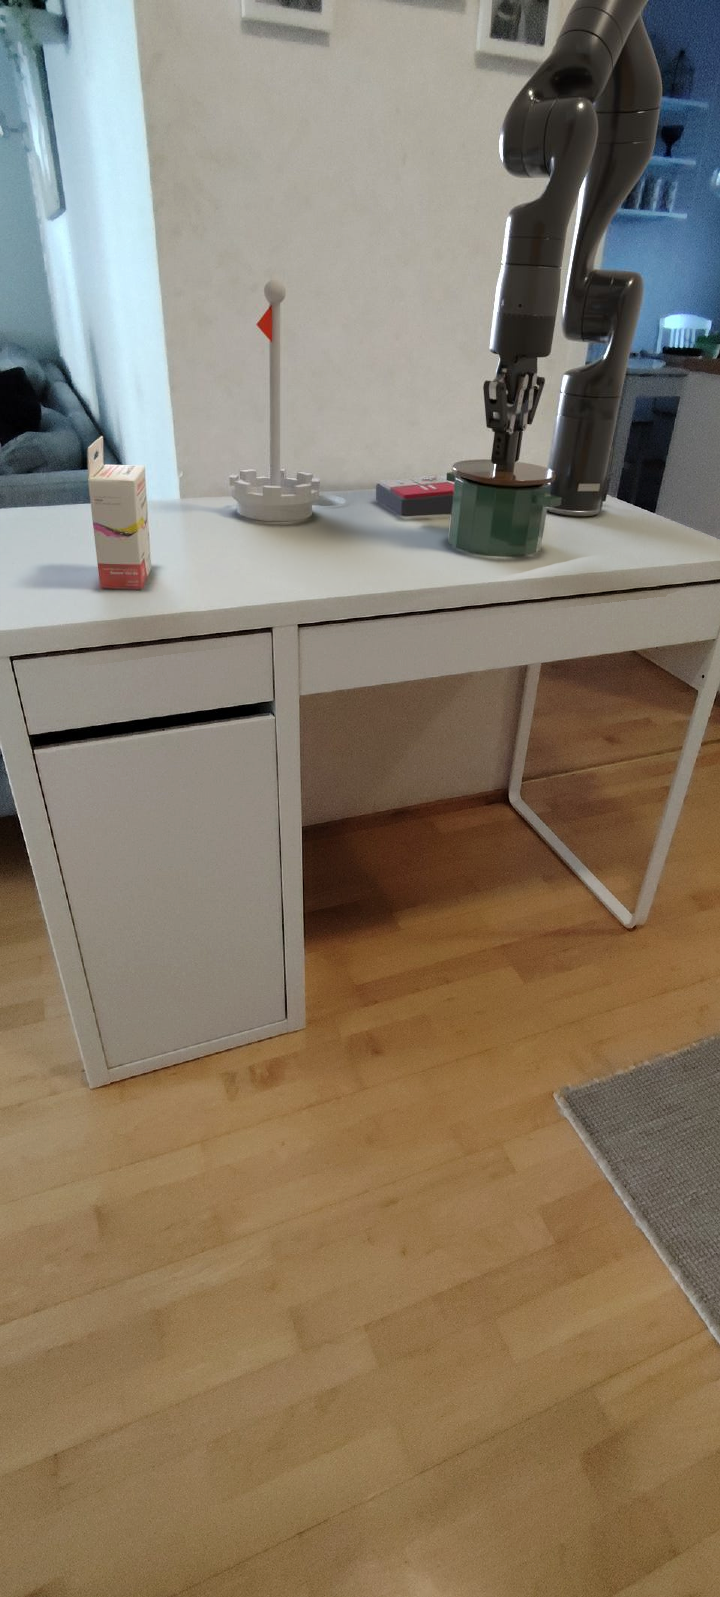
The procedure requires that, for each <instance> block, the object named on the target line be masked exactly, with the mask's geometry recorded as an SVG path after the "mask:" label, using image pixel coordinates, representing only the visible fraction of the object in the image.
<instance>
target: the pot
mask: <svg viewBox="0 0 720 1597" xmlns="http://www.w3.org/2000/svg"><path fill="white" fill-rule="evenodd" d="M446 476H447V477H446V480H448V481H451V482H454V485H453V495H452V505H451V514H449V523H448V524H449V525H448V533H447V534H448V535H447V540H448V544H450V545H451V546H453V547H454V548H455V549H456V548H457V549H458V550H461V551H465V552H468V553H472V554H478V555H482V556H490V557H505V558H509V557H510V558H511V557H525V556H530V555H533V554H537V553H538V552H539V551H541V549H542V544H543V537H544V531H545V525H546V519H547V514H548V511H547V507H554V506H559V505H560V504H561V497H558V496H554V495H550V489H551V483H547V484H541V485H534V486H528V487H504V486H494V485H488V484H482V483H478V482H475V481H472V480H470V479H467V478H464V477H461V476H458V475H456V474H455V473H453V472H452V471H450V472H446Z"/></svg>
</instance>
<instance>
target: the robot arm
mask: <svg viewBox="0 0 720 1597" xmlns="http://www.w3.org/2000/svg"><path fill="white" fill-rule="evenodd" d="M648 2H649V0H574V2H573V3H572V4H573V5H572V6H571V7H570V10H569V12H568V13H567V15H566V18H565V20H564V22H563V24H562V27H561V29H560V31H559V33H558V35H557V38H556V41H555V42H554V45H553V47H552V50H551V52H550V54H549V55H548V56H547V58H546V59H545V60H544V61H543V62H542V63H541V64H540V65H539V66H538V68H537V69H536V71H535V72H534V73H533V74H532V76H531V77H530V78H529V79H528V81H527V82H526V83H525V84H524V86H523V87H522V88H521V89H520V90H519V92H518V93H517V95H516V96H515V97H514V99H513V100H512V102H511V104H510V106H509V108H508V109H507V111H506V114H505V116H504V119H503V121H502V124H501V128H500V134H499V139H498V140H499V143H498V150H499V157H500V161H501V164H502V166H503V168H504V169H505V171H507V173H508V174H509V175H511V176H512V177H515V178H519V179H520V178H521V179H534V178H535V179H548V181H547V184H546V185H545V187H544V189H543V191H542V192H541V194H540V195H539V197H537V198H535V199H534V200H531V201H528V202H525V203H524V202H523V203H521V204H518V205H515V206H513V208H511V209H510V211H509V212H508V215H507V218H506V223H505V229H504V230H505V231H504V238H503V247H502V254H501V265H500V270H499V275H498V278H497V283H496V289H495V296H494V304H493V305H494V306H493V313H492V322H491V329H490V330H491V331H490V340H489V351H490V352H491V353H492V354H494V355H498V356H499V360H498V363H497V366H496V370H495V377H494V379H493V380H485V381H484V383H483V385H482V388H483V389H482V390H483V400H484V413H485V425H486V428H487V429H491V431H492V432H493V440H492V441H493V442H492V449H491V458H490V460H491V462H492V463H493V464H497V465H506V464H508V462H509V456H510V449H511V441H512V432H513V429H515V430H519V437H518V445H517V452H516V459H515V462H519V460H520V455H521V447H522V441H523V435H524V432H525V431H526V430H527V426H528V425H532V424H533V422H534V418H535V415H536V412H537V409H538V406H539V402H540V400H541V396H542V394H543V390H544V387H545V385H546V384H545V383H546V378H545V377H544V376H539V375H537V374H538V358H547V357H549V356H550V355H551V352H552V347H553V342H554V341H553V340H554V333H555V326H556V320H557V315H558V306H559V300H560V293H561V276H562V275H561V273H562V267H563V266H562V265H563V260H564V253H565V246H566V238H567V233H568V228H569V224H570V221H571V218H572V215H573V213H574V209H575V206H576V211H575V213H576V214H575V221H574V227H573V234H572V240H571V247H570V253H569V259H568V266H567V270H566V271H567V272H566V279H565V284H564V290H563V296H562V297H563V298H562V305H561V319H560V321H561V333H562V335H563V338H565V339H566V340H568V341H571V342H579V343H580V342H581V343H587V344H588V343H590V344H602V345H606V349H605V351H604V353H603V355H602V356H600V357H599V358H598V359H595V360H594V361H593V362H590V363H588V364H585V365H581V366H579V367H574V368H571V369H568V370H566V371H565V372H564V373H563V374H562V376H561V379H560V387H559V392H558V399H557V405H556V411H555V412H556V413H555V417H554V425H553V430H552V436H551V443H550V449H549V457H548V462H547V468H548V469H550V470H552V471H554V472H555V473H556V478H555V480H554V481H553V482H550V483H551V489H550V495H554V496H558V497H561V504H560V505H559V506H554V507H547V512H549V513H552V514H557V515H562V516H568V517H592V516H596V515H598V514H600V511H602V509H603V503H604V502H607V501H606V500H607V497H608V493H609V488H610V485H611V484H610V483H611V477H609V473H610V467H611V463H612V458H613V453H614V450H613V448H612V446H613V440H614V435H615V429H616V426H617V420H618V414H619V409H620V404H621V398H622V394H623V388H624V383H625V379H626V374H627V370H628V365H629V359H630V356H631V355H630V354H631V350H632V346H633V341H634V338H635V334H636V330H637V327H638V322H639V318H640V314H641V309H642V305H643V298H644V287H645V286H644V280H643V277H642V275H641V273H639V272H637V271H631V270H630V271H629V270H619V269H618V270H617V269H598V268H597V269H595V261H596V257H597V253H598V250H599V246H600V244H601V241H602V238H603V236H604V234H605V233H606V230H607V229H608V228H609V226H610V223H611V222H612V220H613V218H614V217H615V215H616V214H617V212H618V211H619V208H620V207H621V206H622V204H623V203H624V201H625V200H626V198H627V197H628V196H629V194H630V193H631V192H632V190H633V189H634V188H635V186H636V184H637V183H638V181H639V179H640V178H641V177H642V175H643V173H644V172H645V171H646V168H647V166H648V165H649V163H650V160H651V158H652V156H653V154H654V149H655V144H656V139H657V138H656V137H657V131H658V126H659V118H660V113H661V105H662V99H663V98H662V97H663V83H662V82H663V81H662V74H661V70H660V67H659V64H658V61H657V58H656V54H655V51H654V48H653V46H652V42H651V40H650V38H649V35H648V32H647V29H646V26H645V24H644V20H643V17H642V11H643V10H644V8H645V6H647V4H648Z"/></svg>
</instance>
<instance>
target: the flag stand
mask: <svg viewBox="0 0 720 1597" xmlns="http://www.w3.org/2000/svg"><path fill="white" fill-rule="evenodd" d="M262 288H263V289H262V291H263V296H264V299H265V300H266V301H267V302H268V308H267V310H266V311H265V312H264V313H263V315H262V316H261V318H260V319H259V320H258V321H257V323H256V324H255V325H256V326H257V328H258V329H259V330H260V331H261V332H262V333H263V335H264V336H265V337H266V338H267V339H268V383H269V384H268V398H269V399H268V400H269V402H268V403H269V404H268V407H269V408H268V409H269V411H268V414H269V415H268V416H269V420H268V421H269V423H268V424H269V427H268V428H269V430H268V432H269V433H268V434H269V468H268V476H257V470H256V469H253V468H251V469H244V470H239V474H238V473H231V474H229V495H230V496H231V497H232V498H233V499H234V501H235V502H237V513H238V514H239V515H240V516H242V517H245V518H247V519H251V520H258V521H265V522H266V521H267V522H291V521H293V522H294V521H300V520H304V519H307V518H309V517H311V516H312V514H313V504H314V503H315V502H316V501H317V500H318V499H319V498H320V484H321V483H320V478H319V477H314V474H312V473H309V472H305V471H298V472H296V478H294V477H287V469H284V468H281V303H282V302H283V301H284V300H285V299H286V294H287V291H286V286H285V284H284V283H283V282H282V281H281V280H280V279H279V278H270V279H268V280H267V281H266V282H265V283H264V285H263V287H262Z"/></svg>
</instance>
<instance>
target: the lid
mask: <svg viewBox="0 0 720 1597" xmlns="http://www.w3.org/2000/svg"><path fill="white" fill-rule="evenodd" d="M518 437H519V430H515V429H513V432H512V441H511V449H510V456H509V462H508V464H506V465H497V464H493V463H492V462H491V459H485V458H484V459H481V458H480V459H466V460H461V461H456V462H454V463H453V464H452V466H451V472H453V473H455V474H456V475H458V476H461V477H464V478H467V479H470V480H472V481H475V482H478V483H482V484H488V485H494V486H504V487H528V486H534V485H541V484H547V483H550V482H553V481H554V480H555V478H556V473H555V472H554V471H552V470H550V469H548V467H545V466H542V465H538V464H533V463H528V462H522V461H517V462H515V459H516V452H517V445H518Z"/></svg>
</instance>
